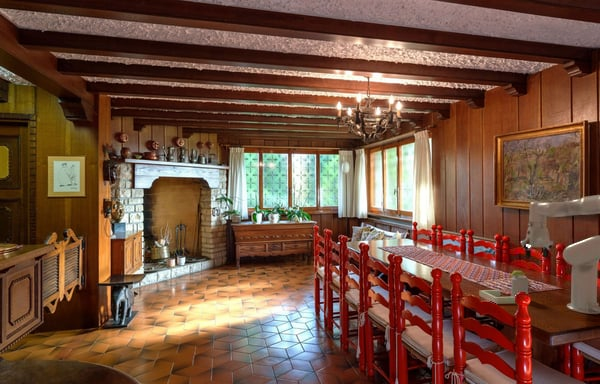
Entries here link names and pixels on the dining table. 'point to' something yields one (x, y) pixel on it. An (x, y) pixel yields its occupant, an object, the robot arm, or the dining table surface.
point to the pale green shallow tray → (491, 295)
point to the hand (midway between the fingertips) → (536, 257)
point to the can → (519, 284)
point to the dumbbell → (518, 274)
